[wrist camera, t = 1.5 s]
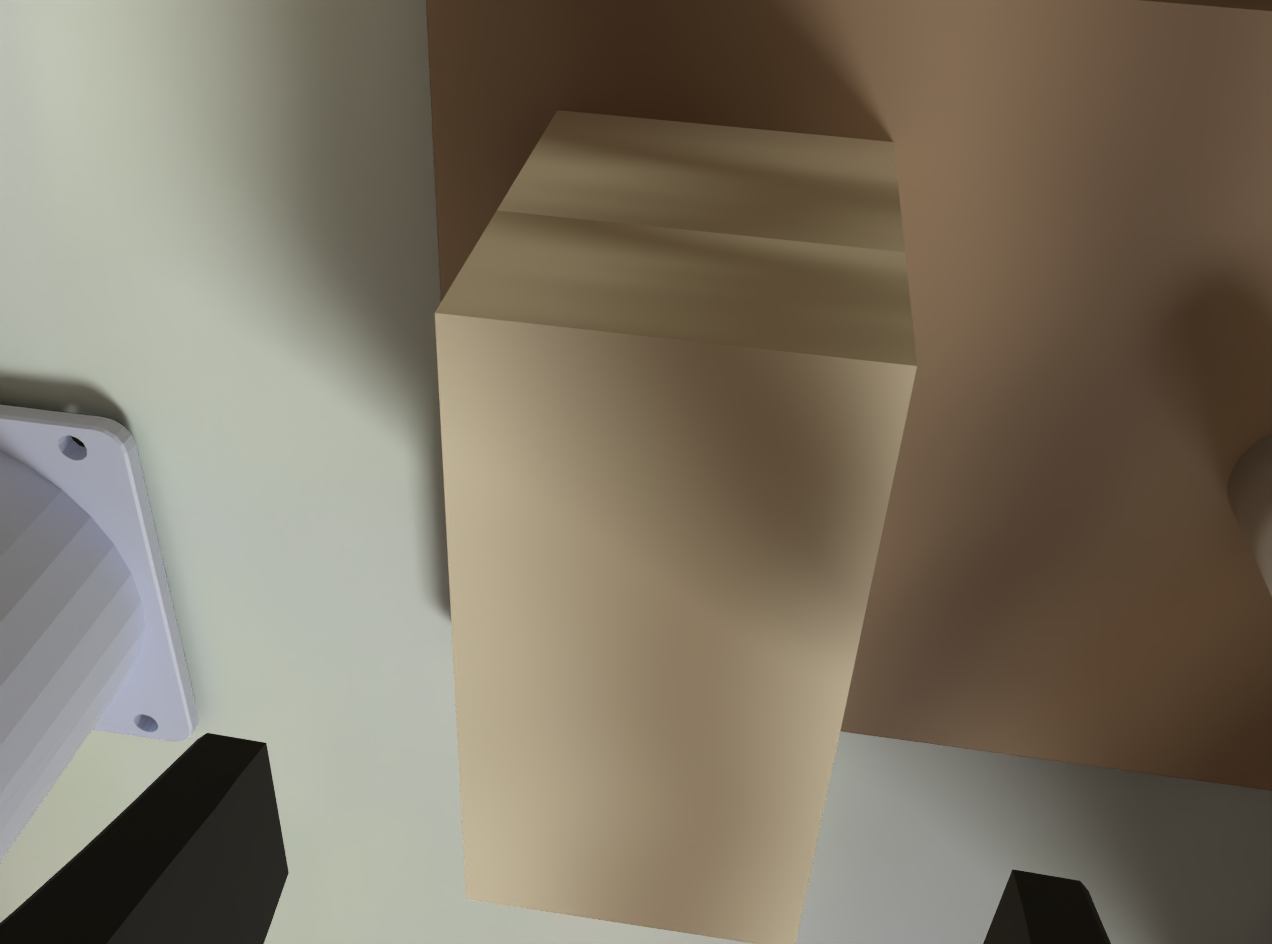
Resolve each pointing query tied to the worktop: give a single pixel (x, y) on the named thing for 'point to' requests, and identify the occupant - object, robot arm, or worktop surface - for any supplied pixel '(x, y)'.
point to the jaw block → (667, 511)
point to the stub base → (997, 330)
